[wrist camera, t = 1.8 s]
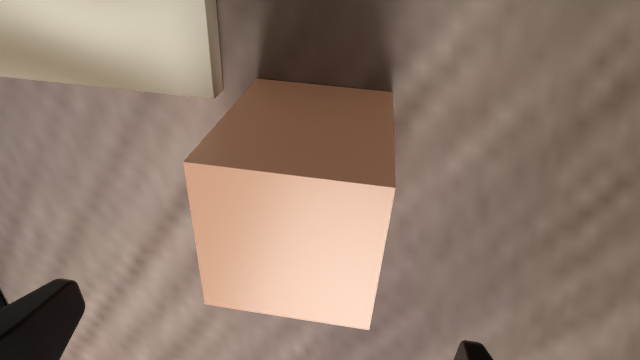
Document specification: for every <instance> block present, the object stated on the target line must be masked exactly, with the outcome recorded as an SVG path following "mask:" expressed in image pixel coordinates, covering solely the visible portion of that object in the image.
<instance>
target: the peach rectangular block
mask: <svg viewBox="0 0 640 360" xmlns="http://www.w3.org/2000/svg"><path fill="white" fill-rule="evenodd" d="M183 164H184V171H185V177H186V184H187V190H188V197H189V203H190V210H191V217H192V223H193V230H194V236H195V243H196V249H197V256H198V263H199V269H200V276H201V282H202V289H203V295H204V302H205V304H206V305H212V306H218V307H225V308H231V309H238V310H244V311H250V312H257V313H263V314H270V315H276V316H283V317H289V318H295V319H302V320H308V321H315V322H321V323H327V324H334V325H340V326H347V327H353V328H359V329H366V330H369V328H370V323H371V317H372V312H373V307H374V301H375V296H376V290H377V285H378V280H379V274H380V269H381V263H382V258H383V253H384V247H385V242H386V237H387V231H388V226H389V220H390V215H391V210H392V204H393V199H394V193H395V188H396V187H395V153H394V119H393V92H387V91H377V90H367V89H357V88H347V87H337V86H327V85H317V84H307V83H296V82H286V81H276V80H266V79H256V80H255V82H254V83H253V84H252V85H251V86H250V87H249V88H248V89H247V91H246V92H245V93H244V94H243V95H242V96H241V97H240V98H239V100H238V101H237V102H236V103H235V104H234V105H233V106H232V107H231V109H230V110H229V111H228V112H227V113H226V114H225V115H224V116H223V118H222V119H221V120H220V121H219V122H218V123H217V124H216V126H215V127H214V128H213V129H212V130H211V131H210V132H209V133H208V135H207V136H206V137H205V138H204V139H203V140H202V141H201V142H200V144H199V145H198V146H197V147H196V148H195V149H194V150H193V151H192V153H191V154H190V155H189V156H188V157H187V158H186V159H185V161H184V162H183Z"/></svg>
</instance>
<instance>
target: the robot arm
mask: <svg viewBox="0 0 640 360" xmlns="http://www.w3.org/2000/svg"><path fill="white" fill-rule="evenodd" d="M84 310H85V302H84V299H83V296H82V294H81V291H80V289H79V286H78V284H77V282H75V281H73V280H68V279H56V280H53V281H51V282H49V283H48V284H46V285H44V286H42V287H40V288H38V289H37V290H35V291H33V292H31V293H29V294H27V295H26V296H24V297H22V298H20V299H18V300H16V301H14V302H13V303H11V304H9V305H7V306H6V305H5V303H4V302H3V300H2V298H1V296H0V360H60V358H61V356H62V354H63V352H64V350H65V348H66V346H67V344H68V342H69V340H70V338H71V336H72V335H73V333H74V331H75V329H76V327H77V325H78V323H79V321H80V319H81V317H82V315H83V313H84ZM454 360H493V359H492V357H491V356H490V354H489V353H488V351H487V350H486V348H485V347H484V346H483V345H482V344H481V343H479V342H473V341H466V340H463V341H462V342H461V343H460V345H459V347H458V350H457V353H456V355H455V358H454Z"/></svg>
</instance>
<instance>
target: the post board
mask: <svg viewBox="0 0 640 360" xmlns="http://www.w3.org/2000/svg"><path fill="white" fill-rule="evenodd" d="M0 76H2V77H12V78H21V79H31V80H40V81H49V82H59V83H68V84H78V85H87V86H97V87H106V88H116V89H125V90H134V91H144V92H153V93H163V94H172V95H182V96H191V97H201V98H210V99H214V98H215V97H216V96H217V95H219V94H220V93H221V92H222V91H223V81H222V69H221V57H220V44H219V32H218V20H217V7H216V0H0Z"/></svg>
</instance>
